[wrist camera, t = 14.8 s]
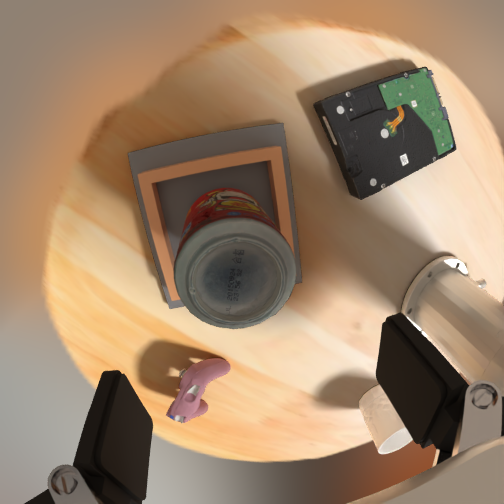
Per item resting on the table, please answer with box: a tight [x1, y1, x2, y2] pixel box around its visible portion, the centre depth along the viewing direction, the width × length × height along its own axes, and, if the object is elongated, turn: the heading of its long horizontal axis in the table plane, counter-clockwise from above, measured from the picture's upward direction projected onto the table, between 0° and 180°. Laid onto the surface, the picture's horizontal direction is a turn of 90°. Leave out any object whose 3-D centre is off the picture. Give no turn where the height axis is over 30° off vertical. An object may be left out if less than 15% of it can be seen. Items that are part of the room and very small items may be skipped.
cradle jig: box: [128, 123, 302, 309], centre depth 27 cm, size 14×16×3 cm
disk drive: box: [313, 67, 456, 200], centre depth 26 cm, size 10×3×15 cm
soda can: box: [173, 188, 296, 329], centre depth 22 cm, size 7×7×12 cm
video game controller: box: [166, 358, 230, 423], centre depth 32 cm, size 10×5×7 cm, turn 156°
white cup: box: [359, 384, 413, 454], centre depth 38 cm, size 8×8×10 cm
